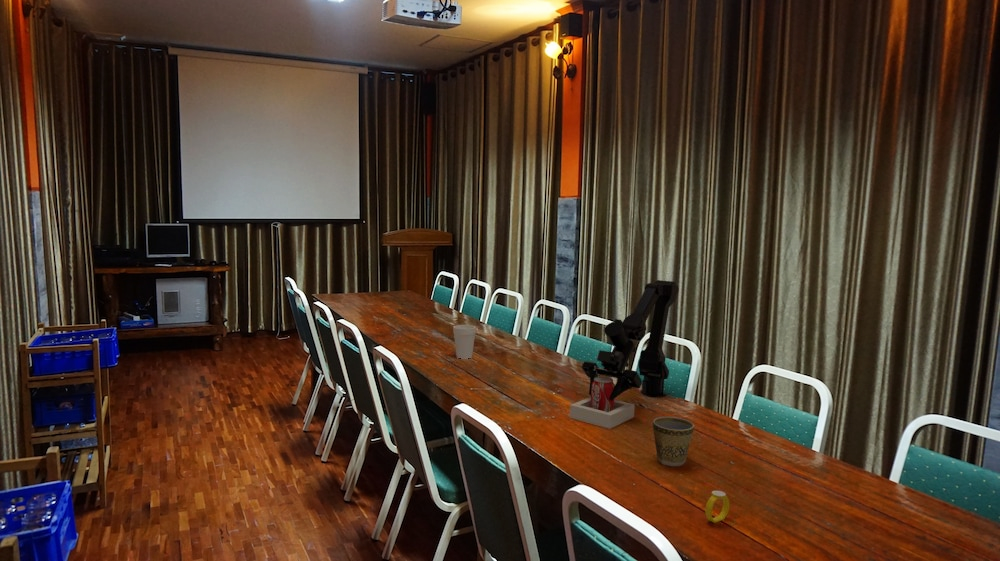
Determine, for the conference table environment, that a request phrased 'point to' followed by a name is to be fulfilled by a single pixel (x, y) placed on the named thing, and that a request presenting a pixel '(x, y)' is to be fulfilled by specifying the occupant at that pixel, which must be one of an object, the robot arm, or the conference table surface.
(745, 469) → the conference table surface
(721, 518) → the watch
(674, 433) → the ceramic cup
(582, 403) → the carton cell
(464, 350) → the foam cup
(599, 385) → the soda can
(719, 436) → the conference table surface
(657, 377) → the robot arm
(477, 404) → the conference table surface
